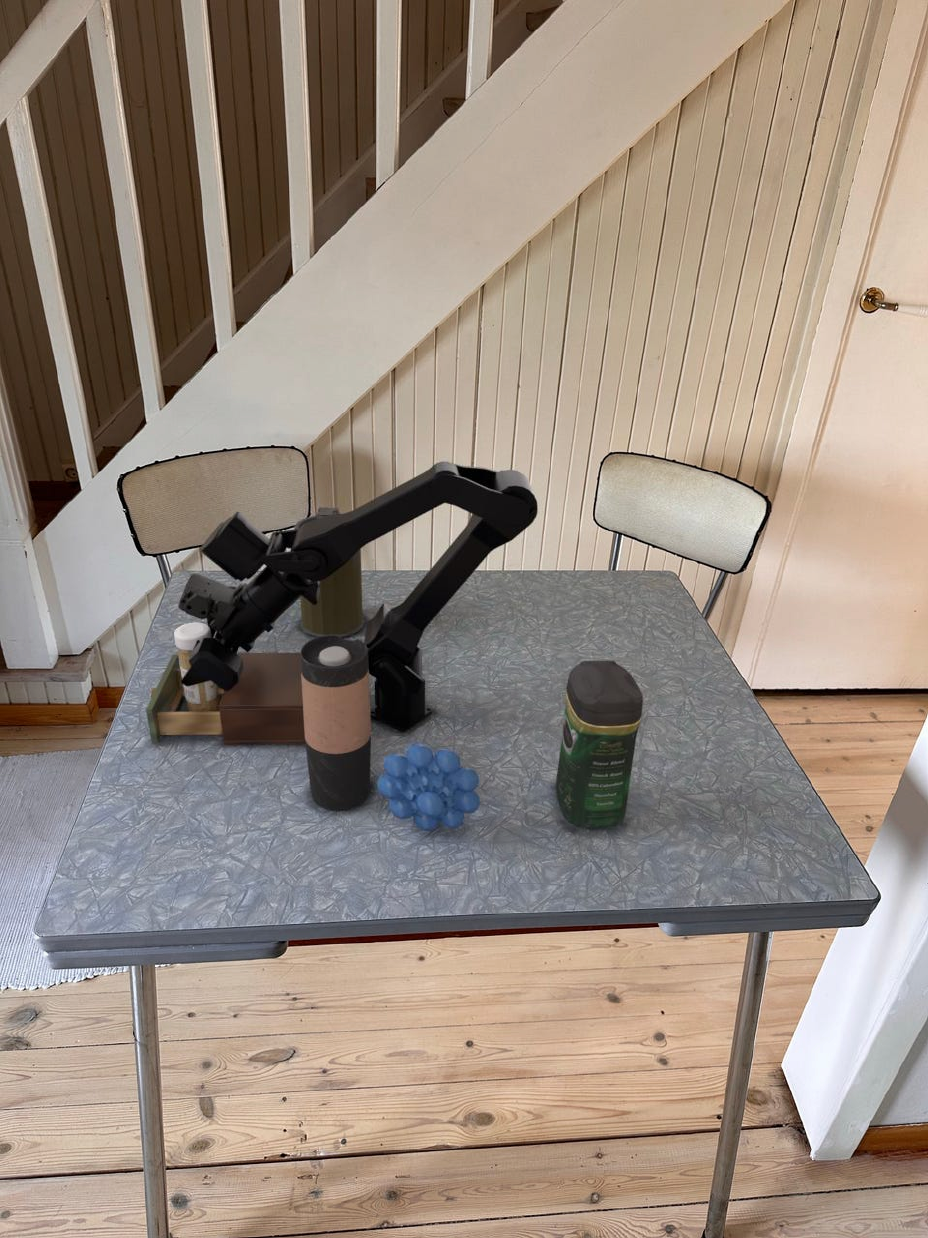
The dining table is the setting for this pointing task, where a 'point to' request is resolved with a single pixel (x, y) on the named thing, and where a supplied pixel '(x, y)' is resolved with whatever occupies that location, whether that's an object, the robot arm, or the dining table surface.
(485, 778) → the dining table surface
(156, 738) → the drawer
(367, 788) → the travel mug
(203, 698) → the sprinkles bottle
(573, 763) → the coffee jar
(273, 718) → the drawer unit
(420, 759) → the blue knobby toy
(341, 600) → the canister
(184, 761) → the dining table surface
